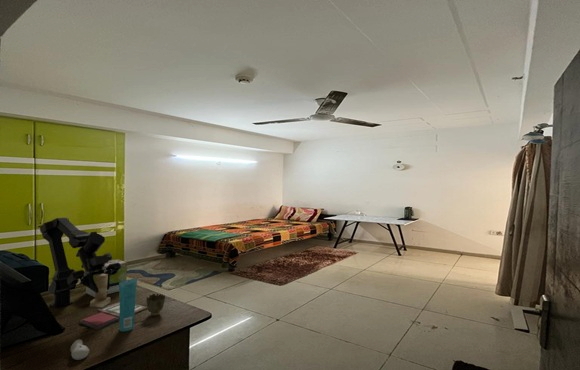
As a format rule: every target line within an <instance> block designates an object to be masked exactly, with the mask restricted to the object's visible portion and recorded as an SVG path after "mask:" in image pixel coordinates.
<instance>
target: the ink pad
mask: <svg viewBox="0 0 580 370" xmlns="http://www.w3.org/2000/svg"><path fill="white" fill-rule="evenodd" d="M118 321H119V322H120V318H118V317H115V316H111V315H108V314H105V313H102V312H98V313H96V314H94V315H91V316H88V317H85V318H83V319H80V320H79V321H78V322H79V324H80V325H83V326H86V327H89V328H92V329H95V330H97V331H98V330H100V329H103V328H105V327H107V326H109V325H112V324H115V323H116V322H118Z"/></svg>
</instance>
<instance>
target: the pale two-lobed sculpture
mask: <svg viewBox="0 0 580 370" xmlns="http://www.w3.org/2000/svg"><path fill="white" fill-rule="evenodd" d="M70 353H71V358H72V359H73V360H76V361H81V360H83V359H86V357H87V356H88V355H89V353H90V349H89V347H88V346H87V345H84V341H83V340H82V339H77V340H75V341H74V342H73V343H72V345H71V346H70Z"/></svg>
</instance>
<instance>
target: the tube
mask: <svg viewBox="0 0 580 370" xmlns="http://www.w3.org/2000/svg"><path fill="white" fill-rule="evenodd" d="M137 285H138V277H137V276H136V277H134V278H130V279H126V281H122V282H119V291H118V293H119V294H118V295H119V302H120V318H119V331H120V332H129V331H131V330H132V329H134V327H135V314H134V313H135V304H136V298H137V294H136V293H137Z"/></svg>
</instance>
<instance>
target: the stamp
mask: <svg viewBox="0 0 580 370" xmlns="http://www.w3.org/2000/svg"><path fill="white" fill-rule="evenodd" d="M107 281H108V275H107V274H99V275H97V276H96V286H97V288H98V293H96V292H95V297H94V298H93V299H92V300H91V301H90V302H89V303H90V304H89V309H95V310H98V309H103V308H105V307H107V306H109V305H111V297H109V296H108V294H107Z"/></svg>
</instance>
